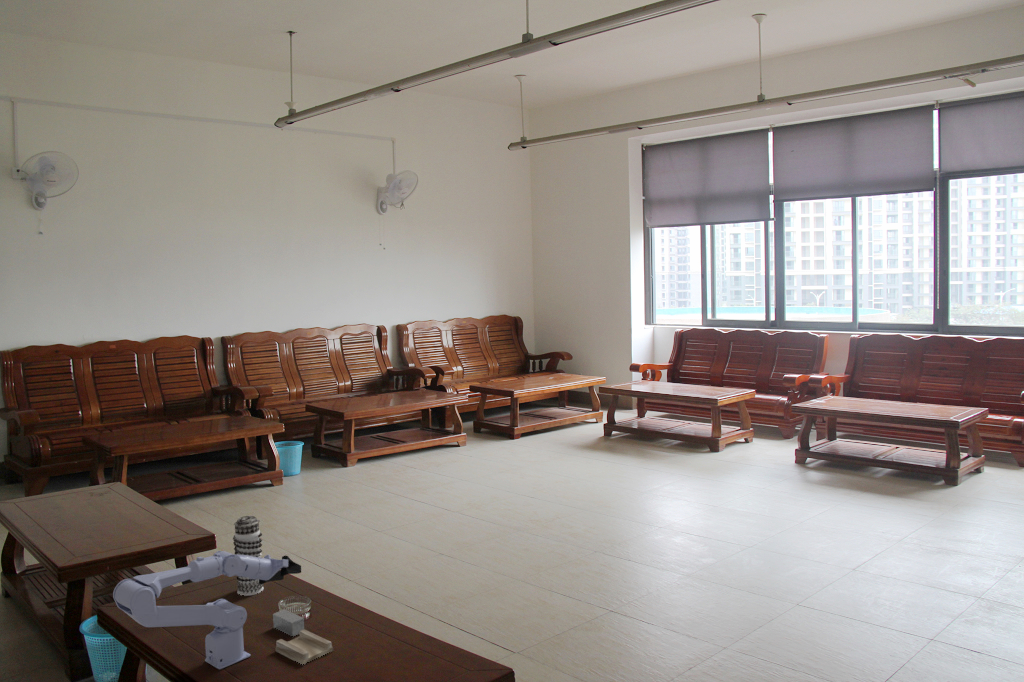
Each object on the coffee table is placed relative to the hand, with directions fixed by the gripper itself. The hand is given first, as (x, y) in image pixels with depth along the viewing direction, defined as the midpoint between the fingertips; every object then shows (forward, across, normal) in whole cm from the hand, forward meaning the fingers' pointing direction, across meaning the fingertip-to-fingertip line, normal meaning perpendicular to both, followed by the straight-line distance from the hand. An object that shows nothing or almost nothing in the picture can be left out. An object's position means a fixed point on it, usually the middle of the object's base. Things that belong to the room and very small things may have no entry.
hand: (291, 572), depth 230 cm
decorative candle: (+16, +39, -6) cm, 42 cm away
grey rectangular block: (+6, +9, +14) cm, 18 cm away
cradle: (+1, -4, +23) cm, 23 cm away
